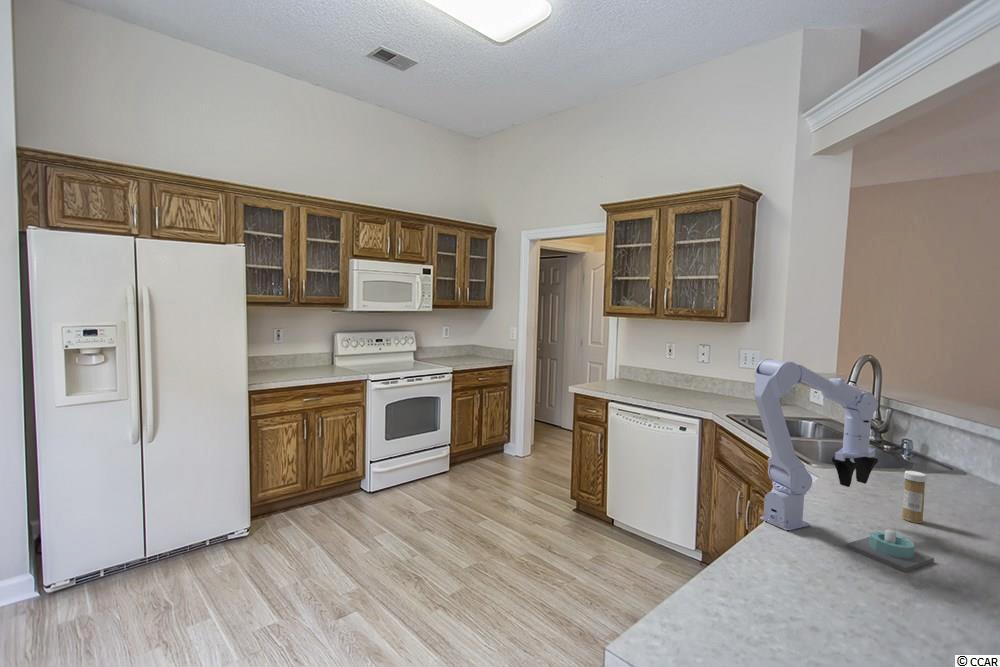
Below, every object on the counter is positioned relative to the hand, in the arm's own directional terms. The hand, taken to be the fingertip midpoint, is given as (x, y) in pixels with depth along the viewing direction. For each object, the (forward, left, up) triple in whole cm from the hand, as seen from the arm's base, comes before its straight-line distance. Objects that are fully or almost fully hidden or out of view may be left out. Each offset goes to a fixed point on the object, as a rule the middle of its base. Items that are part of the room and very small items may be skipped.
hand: (853, 484), depth 131 cm
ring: (-11, -15, -9) cm, 21 cm away
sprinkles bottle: (+18, -6, -11) cm, 22 cm away
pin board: (-12, -15, -10) cm, 22 cm away
